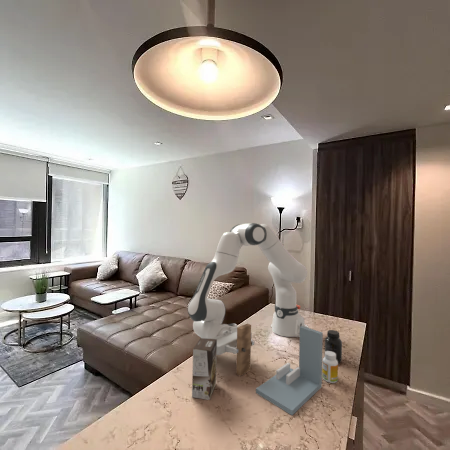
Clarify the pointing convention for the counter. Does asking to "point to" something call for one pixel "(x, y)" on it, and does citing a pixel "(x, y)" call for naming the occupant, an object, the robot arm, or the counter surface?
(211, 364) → the coffee box
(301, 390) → the blue-grey l-shaped stand
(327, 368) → the supplement bottle
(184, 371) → the counter surface
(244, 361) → the door panel
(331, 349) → the supplement bottle
